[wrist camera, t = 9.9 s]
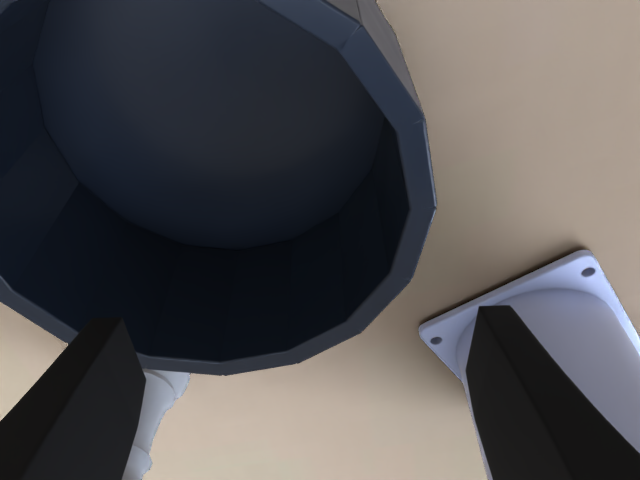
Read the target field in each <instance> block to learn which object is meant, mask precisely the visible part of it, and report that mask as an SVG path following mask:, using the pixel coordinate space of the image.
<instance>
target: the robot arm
mask: <svg viewBox="0 0 640 480" xmlns="http://www.w3.org/2000/svg"><path fill="white" fill-rule="evenodd" d="M588 267H589V268H588ZM585 268H588V269H587V270H584V269H585ZM419 336H420V338H421V339H422V340H423V341H424V342H425V343H426V344H427V346H428V347H429V348H430V349H431V350H432V351H433V352H434V353H435V354H436V355H437V356H438V357H439V358H440V359H441V360H442V361H443V362H444V363H445V365H446V366H447V367H448V368H449V369H450V370H451V371H452V372H453V373H454V374H455V375H456V376H457V377H458V378H459V379H460V380H461V381H462V383H463V385H464V389H465V393H466V397H467V401H468V405H469V409H470V412H471V416H472V420H473V424H474V428H475V432H476V436H477V440H478V443H479V447H480V451H481V455H482V459H483V463H484V467H485V471H486V475H487V478H488V480H640V337H639V335H638V334H637V332H636V330H635V328H634V326H633V325H632V323H631V321H630V319H629V317H628V316H627V314H626V312H625V310H624V308H623V307H622V305H621V303H620V301H619V299H618V298H617V296H616V294H615V292H614V290H613V289H612V287H611V285H610V283H609V281H608V280H607V278H606V276H605V274H604V272H603V271H602V269H601V267H600V265H599V263H598V262H597V260H596V258H595V256H594V255H593V253H592V252H591V251H589V250H579V251H576V252H574V253H572V254H570V255H568V256H566V257H563V258H561V259H559V260H557V261H555V262H553V263H551V264H548V265H546V266H544V267H542V268H540V269H538V270H536V271H534V272H531V273H529V274H527V275H525V276H523V277H521V278H519V279H517V280H514V281H512V282H510V283H508V284H506V285H504V286H502V287H500V288H497V289H495V290H493V291H491V292H489V293H487V294H485V295H483V296H480V297H478V298H476V299H474V300H472V301H470V302H468V303H466V304H463V305H461V306H459V307H457V308H455V309H453V310H451V311H449V312H446V313H444V314H442V315H440V316H438V317H436V318H434V319H431V320H429V321H427V322H425V323H423V324H422V325H421V326H420V327H419ZM434 337H436V338H434ZM145 385H146V377H145V375H144V372H143V370H142V367H141V364H140V362H139V359H138V357H137V354H136V352H135V349H134V346H133V344H132V341H131V339H130V336H129V334H128V331H127V328H126V326H125V323H124V321H123V318H122V317H109V318H92V319H91V320H90V321H89V322H88V323H87V324H86V326H85V327H84V328H83V329H82V330H81V331H80V332H79V334H78V335H77V336H76V337H75V338H74V339H73V340H72V342H71V343H70V344H69V345H68V346H67V347H66V349H65V350H64V351H63V352H62V353H61V354H60V356H59V357H58V358H57V359H56V360H55V361H54V362H53V364H52V365H51V366H50V367H49V368H48V369H47V370H46V372H45V373H44V374H43V375H42V376H41V377H40V378H39V380H38V381H37V382H36V383H35V384H34V385H33V386H32V387H31V388H30V390H29V391H28V392H27V393H26V394H25V395H24V396H23V397H22V398H21V400H20V401H19V402H18V403H17V404H16V405H15V406H14V407H13V408H12V409H11V411H10V412H9V413H8V414H7V415H6V416H5V417H4V418H3V419H2V420H1V421H0V480H122V477H123V474H124V471H125V468H126V465H127V461H128V458H129V455H130V452H131V448H132V445H133V442H134V438H135V435H136V432H137V428H138V424H139V419H140V413H141V408H142V403H143V397H144V391H145Z"/></svg>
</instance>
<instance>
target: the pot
mask: <svg viewBox="0 0 640 480" xmlns="http://www.w3.org/2000/svg"><path fill="white" fill-rule="evenodd" d="M436 206H437V198H436V191H435V183H434V176H433V169H432V162H431V155H430V147H429V140H428V133H427V126H426V119H425V117H424V113H423V110H422V108H421V105H420V102H419V99H418V96H417V93H416V91H415V88H414V85H413V82H412V79H411V77H410V74H409V71H408V68H407V65H406V62H405V60H404V57H403V54H402V51H401V48H400V46H399V43H398V40H397V37H396V34H395V32H394V31H393V29H392V28H391V26H390V25H389V23H388V22H387V20H386V18H385V17H384V15H383V14H382V12H381V10H380V9H379V7H378V5H377V3H376V1H375V0H0V302H2V303H3V304H5V305H6V306H8V307H9V308H11V309H13V310H14V311H16V312H17V313H19V314H21V315H22V316H24V317H25V318H27V319H29V320H30V321H32V322H33V323H35V324H36V325H38V326H40V327H41V328H43V329H44V330H46V331H48V332H49V333H51V334H52V335H54V336H56V337H57V338H59V339H60V340H62V341H64V342H66V343H68V344H70V343H71V342H72V340H73V339H74V338H75V337H76V336H77V335H78V334H79V332H80V331H81V330H82V329H83V328H84V327H85V326H86V324H87V323H88V322H89V321H90V320H91V319H92V318H109V317H122V318H123V321H124V323H125V326H126V328H127V331H128V334H129V336H130V339H131V341H132V344H133V346H134V349H135V352H136V354H137V357H138V359H139V362H140V364H141V367H142V369H145V368H146V369H148V370H160V371H171V372H183V373H195V374H207V375H219V376H221V375H224V376H227V375H233V374H239V373H245V372H251V371H257V370H263V369H269V368H275V367H281V366H287V365H293V364H296V363H297V364H298V363H300V362H302V361H304V360H306V359H309V358H311V357H313V356H315V355H317V354H319V353H321V352H323V351H325V350H327V349H329V348H331V347H333V346H335V345H337V344H339V343H341V342H343V341H346V340H348V339H350V338H352V337H354V336H356V335H358V334H360V333H361V332H362V331H363V330H364V329H365V328H366V327H367V326H368V325H369V324H370V323H371V322H372V321H373V320H374V319H375V318H376V317H377V316H378V315H379V314H380V313H381V312H382V311H383V310H384V309H385V308H386V306H387V305H388V304H389V303H390V302H391V301H392V300H393V299H394V298H395V297H396V296H397V295H398V294H399V293H400V292H401V291H402V290H403V289H404V288H405V287H406V286H407V285H408V284H409V283H410V281H411V279H412V278H413V275H414V272H415V269H416V267H417V264H418V261H419V258H420V255H421V252H422V249H423V247H424V244H425V241H426V238H427V235H428V232H429V229H430V226H431V224H432V221H433V218H434V215H435V212H436V209H437V208H436Z"/></svg>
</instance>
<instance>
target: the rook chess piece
mask: <svg viewBox="0 0 640 480" xmlns="http://www.w3.org/2000/svg"><path fill="white" fill-rule="evenodd" d="M142 370H143V372H144V375H145V377H146V385H145V391H144V397H143V403H142V408H141V413H140V419H139V424H138V428H137V432H136V435H135V438H134V442H133V445H132V448H131V452H130V455H129V458H128V461H127V465H126V468H125V471H124V474H123V477H122V480H142V476H143V474H145V473H146V472H147V471H149V470H150V468H151V465H152V461H151V458H150V455H149V453H150V450H151V446H152V442H153V438H154V436H155V434H156V431H157V429H158V426H159V424H160V421H161V419H162V417H163V416H164V414H165V412H166V411H167V410H168V409H170V408H171V407H172V406H173V404H174V401H175V400H176V399H178V398H179V397H181V396H182V395H183V393H184V391H185V390H186V387H187V385H188V383H189V380H190V376H189V375H190V374H191V373H183V372H171V371H160V370H148V369H146V368H145V369H142Z"/></svg>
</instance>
